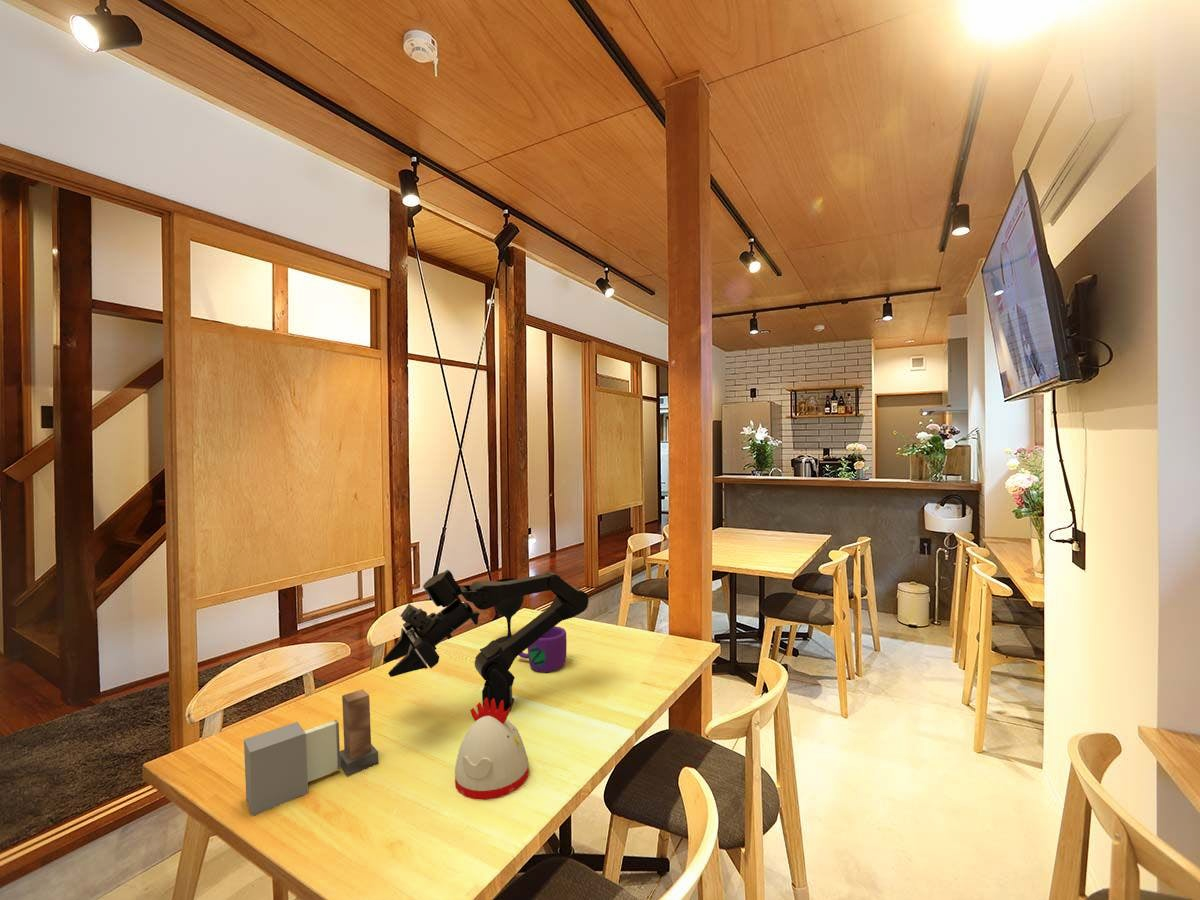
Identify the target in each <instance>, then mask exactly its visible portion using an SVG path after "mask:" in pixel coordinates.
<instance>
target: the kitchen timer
mask: <svg viewBox="0 0 1200 900" xmlns="http://www.w3.org/2000/svg"><path fill="white" fill-rule="evenodd" d="M476 708H477V711H476V709H475V708H474V707H472V708H470V710H469V711H470V713H471V716H472V718H473V721H474V722H473V723H472V724H471V725H470V727H469V728H468V730H467V732H466V733H465V735H464V737H463V739H462V740H461V744H460V746H459V751H458V754H457V758H456V761H455V762H456V763H455V768H454V783H455V789H456V790H457V792H458V793H459V794H460V795H462V796H464V797H466V798H469V799H472V800H483V801H487V800H493V799H498V798H502V797H505V796H507V795H509V794H511V793H513V792H515V791H517V790H518V789H519V788H520V787H522V786H523V785H524V783H525V782H526V781H527V778H528V776H529V772H530V770H529V768H530V767H529V759H528V755H527V751H526V748H525V745H524V742H523V739H522V737H521V735H520V732H519V730H518V728H517V727H516V726H515V725H514V724H513V723H512V722H511V721H510V720H509V719H508V716H509V714H510V712H511V711H510V708H509V709H508V710H507V711H506V712H505V711H504V702H503V700H502V701H501V702H500V704H499V708H498V710H497V708H496V703H495V700H494V698H493V699H492V700H491V707H490V706H489V702H488V698H485V699H484V705H483V704H481V702H478V703H477V704H476ZM477 712H478V713H477Z"/></svg>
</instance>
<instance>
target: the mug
mask: <svg viewBox="0 0 1200 900" xmlns="http://www.w3.org/2000/svg"><path fill="white" fill-rule="evenodd" d="M567 643H568V642H567V631H566V629H565V628H563V627H560V626H557V625H556V626H554V627H553V628H552V629H551V630H549V631H548V632H547V633H546V634H544V635H543V636H542V637H541V638H539V639H538V640H537V641H536V642H534V643H533V644H532V645H531V646H529V647H528V648H527V653H526V652H524V651H523V652H522V653H521V654H519V655H518V656H519V657H520V658H523V659H528V663H529V666H530V668H531V669H532V670H534V671H535V672H538V671H539V672H538V673H552V672H556V671H558V670H560V669H562V668H563V667H564V666H565V663H566V661H567V660H566V659H567Z"/></svg>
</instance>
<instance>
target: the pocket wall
mask: <svg viewBox="0 0 1200 900" xmlns="http://www.w3.org/2000/svg"><path fill="white" fill-rule="evenodd" d="M304 731H305V730H304V729H303V727H302V726H301V725H300V723H299V722H298V721H296V722H292V723H289V724H286V725H283V726H280V727H277V728H274V729H271V730H267V731H265V732H262V733H259V734H256V735H253V736H250V737H247V738H244V739H243V746H244V747H243V751H244V754H243V756H244V774H245V775H244V779H245V800H246V803H247V806H248V808H249V811H250V813H251V816H252V817H254V816H257V815H259V814H261V813H264V812H266V811H268V809H269V810H271V809H273V808H275V806H276V807H278V806H280V804H281V805H282V804H286V803H287V802H290V801H293V800H294V799H297V797H298V798H300V797H302V796H304V795H308V794H309V788H308V787H309V786H308V785H309V784H308V783H309V782H307V757H306V733H305V732H304ZM270 808H271V809H270Z"/></svg>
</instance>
